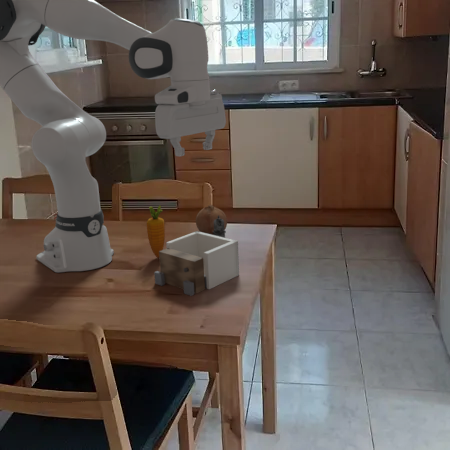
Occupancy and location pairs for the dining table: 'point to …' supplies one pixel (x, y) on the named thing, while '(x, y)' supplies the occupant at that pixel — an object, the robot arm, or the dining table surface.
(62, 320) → the dining table surface
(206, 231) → the onion
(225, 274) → the cabinet
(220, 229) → the chess piece
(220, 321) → the dining table surface
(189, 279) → the door
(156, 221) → the carrot
